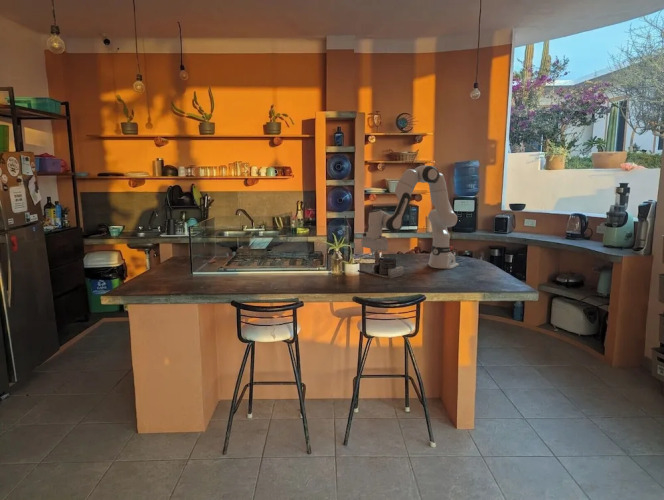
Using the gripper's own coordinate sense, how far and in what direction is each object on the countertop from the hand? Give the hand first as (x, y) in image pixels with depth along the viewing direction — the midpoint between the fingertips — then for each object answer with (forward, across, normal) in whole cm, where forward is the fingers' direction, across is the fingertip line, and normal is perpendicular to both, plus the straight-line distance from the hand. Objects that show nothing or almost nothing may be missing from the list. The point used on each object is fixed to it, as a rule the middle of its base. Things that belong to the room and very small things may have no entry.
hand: (374, 255), depth 288 cm
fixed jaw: (+10, -6, 0) cm, 12 cm away
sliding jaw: (+10, -4, 0) cm, 10 cm away
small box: (+10, -11, 0) cm, 15 cm away
